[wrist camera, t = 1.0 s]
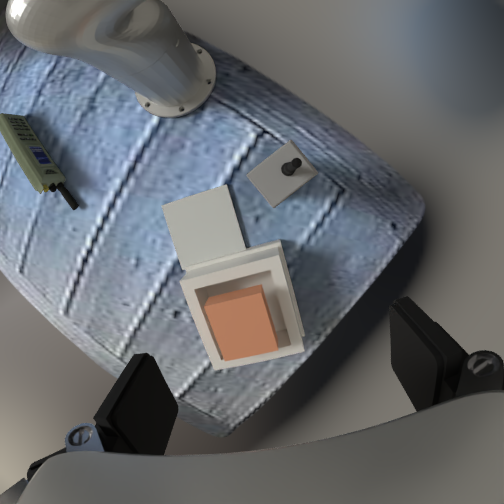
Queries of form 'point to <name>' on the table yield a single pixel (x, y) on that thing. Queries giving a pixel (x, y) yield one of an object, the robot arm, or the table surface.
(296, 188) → the vintage mobile phone
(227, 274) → the frame
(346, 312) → the table surface
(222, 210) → the light gray square panel
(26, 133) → the handheld radio
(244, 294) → the button
